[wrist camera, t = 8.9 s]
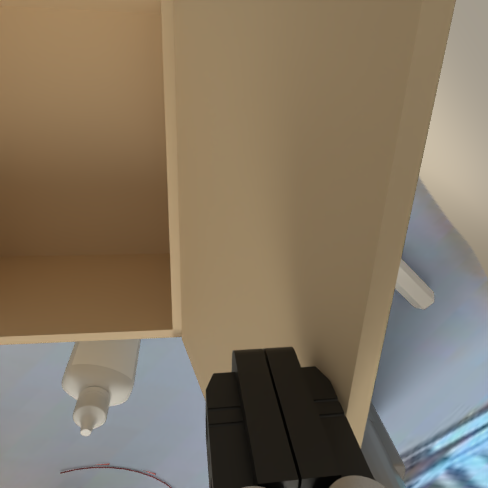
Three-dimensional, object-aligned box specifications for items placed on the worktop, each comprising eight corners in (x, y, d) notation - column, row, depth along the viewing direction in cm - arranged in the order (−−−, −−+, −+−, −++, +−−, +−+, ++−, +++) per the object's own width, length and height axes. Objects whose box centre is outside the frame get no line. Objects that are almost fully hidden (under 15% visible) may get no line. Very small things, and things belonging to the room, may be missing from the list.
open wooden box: (177, 5, 31) (173, -15, 20) (182, 256, 39) (182, 336, 28) (-65, -8, 29) (-214, -38, 18) (-5, 260, 37) (-83, 348, 26)
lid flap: (173, -16, 20) (185, -15, 20) (182, 339, 28) (191, 337, 28) (452, -163, 5) (488, -154, 6) (302, 654, 14) (318, 646, 14)
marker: (320, 191, 39) (419, 290, 45) (308, 209, 39) (410, 307, 45) (338, 188, 37) (440, 293, 43) (326, 207, 37) (431, 311, 42)
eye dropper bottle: (107, 300, 40) (78, 394, 29) (148, 337, 42) (135, 437, 32) (72, 326, 41) (32, 427, 30) (115, 361, 43) (91, 467, 32)
